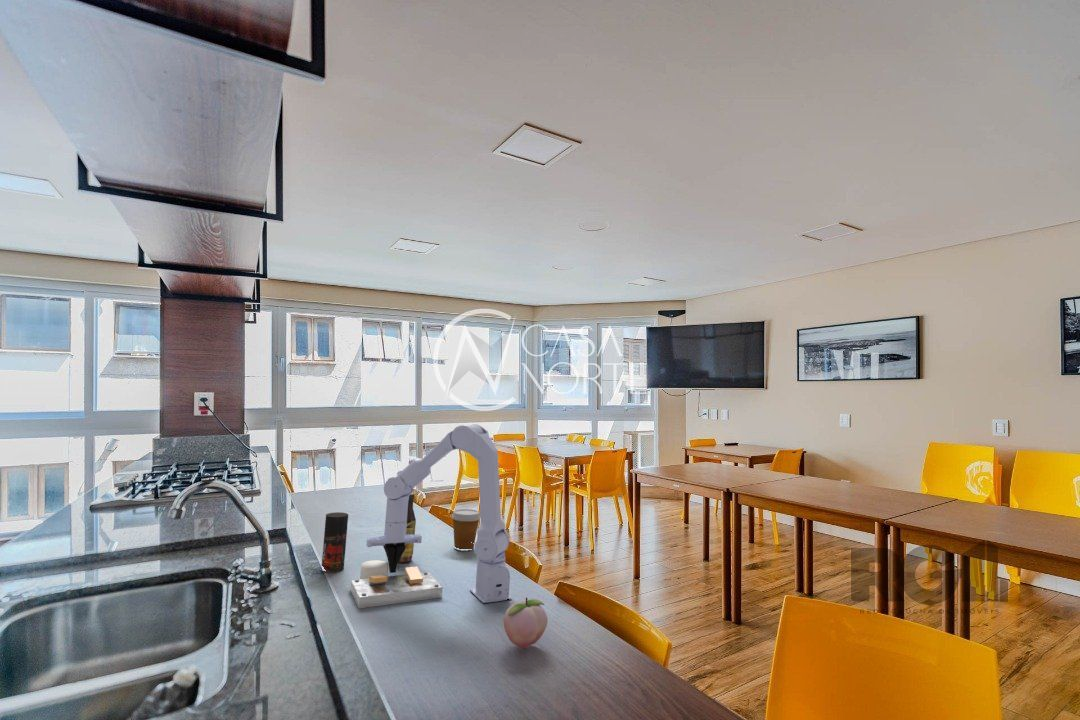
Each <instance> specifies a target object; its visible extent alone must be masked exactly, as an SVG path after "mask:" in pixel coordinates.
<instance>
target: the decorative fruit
mask: <svg viewBox="0 0 1080 720" xmlns="http://www.w3.org/2000/svg"><path fill="white" fill-rule="evenodd" d="M542 606H545V603H544V602H542V601H541V600H540V599H534V598H532V599H531V598H530V599H529V600H528V597H525V600H520V601H516V602H514V603H513V604H511V605H510V606H509V607H508V608H507V609H506V611H505V613H504V616H503V629H504V632H505V635H506V637H507V638H508V640H509V641H510V642H511V643H512V644H513V645H515V646H517V647H520V648H522V649H526V648H528V647H531V646H532V645H535V644H536V643H537V642H538V641H539V640H540V638H541V637H542V636H543V634H544V632H546V629H547V626H548V615H547V612H546V610H545V609H544V608H543V607H542Z"/></svg>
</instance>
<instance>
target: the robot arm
mask: <svg viewBox="0 0 1080 720" xmlns="http://www.w3.org/2000/svg"><path fill="white" fill-rule="evenodd" d="M489 435H490V433H489V431H488V430H487V429H486V428H484V427H482V425H479V424H471V425H470V424H469V425H464V424H463V425H462V424H461V425H458V426H456V427H454V429H453V430H451V431H450V432H448V433H447V434H446V435H445V437H443V438H442V439H441V440H440V441H439V442H438V443H437V444H436V445H435V446H434V447H433V448H432V449H430V451H429V452H428V453H427V454H425V456H424V457H422V458H421V457H420V458H419V457H417V458H412V459H410V460H409V461H408V465H407V466H406V467H404V468H403V469H402V470H399V471H398V472H396V474H397V475H396V476H392V477H389V478H388V479H387V480H386V482H384V486H383V493H384V495H385V497H386V508H385V509H386V511H385V521H384V522H385V524H384V535H380V536H375V537H368V538H366V547H367V548H372V547H378V546H379V547H380V546H382V547H383V549H384V551H385V555H386V559H387V563H388V572H389V573H390V574H391V573H392V574H394V573H396V571H397V568H398V566H399V565H398V564H399V560H400V558H401V556H402V554H403V552H404V551H405V548H406V546H405V544H407V543H414V544H421V543H422V540H423V539H422V538H423V537H422V536H423V535H421V534H415V535H406V525H407V512H408V501H409V496H410V494H411V493H413V491H414V488H415V487H417V486H418V485H419V484H420V483H421V482H422V481H424V480H425V479H426V478H427V477H428V476H430V474H431V470H432V469H431V468H432V467H433V466H435V464H437V463H438V462H439V461H441V460H442V459H443V458H445V457H446V456H447V455H448V454H450V452H452V451H454V450H460V451H462V452H465V453H467V454H469V455H470V456H472V457H473V458H474V459H475V460H476V461H477V462H478V464H477V465H478V466H477V467H478V488H479V489H478V490H479V493H478V494H479V514H480V523H479V527H478V528H477V532H476V534H477V536H476V540H475V543H474V553H475V556H476V558H477V561H476V575H475V576H476V578H475V587H470V588H469V591H470V592H471V593H472V594H473V595H474V596H475V597H476V598H477V599H478V600H479V601H480V602H481V604H487V603H495V602H502V601H508V600H507V599H509V600H512V599H511V598H513V597H512V595H510V584H511V583H510V580H511V574H510V570H509V568H508V567H507V566H506V554H505V551H506V550H507V549H508V547H509V545H510V537H509V535H508V533H507V531H506V524H505V523H504V521H503V520H502V511H501V495H500V494H501V492H500V490H501V489H500V472H499V471H500V469H499V453H498V449H497V447H496V445H495V444H494V442H493V441H492V439H491V437H490V436H489Z"/></svg>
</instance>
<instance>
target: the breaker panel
mask: <svg viewBox="0 0 1080 720" xmlns="http://www.w3.org/2000/svg"><path fill="white" fill-rule="evenodd" d="M420 573H421V575H422V577H423V582H420V583H412V584H410V582H409V580H408V578H407V575H406V573H405V574H398V575H396V574H395V575H387V582H378V583H373V582H371V581H369V578H368V579H360V578H359V579H353V580H352V579H351V581H350V592H351V596H352V598H353V599H354V602H355V604H356V606H357V609H366V608H372V607H373V608H374V607H381V606H387V605H395V604H402V603H409V602H416V601H417V602H418V601H425V600H433V599H438V598H439V599H441V598H443V586H442V584H440V582H438V580H437V579H436V578H435V577H434V576H433V575H432V574H431V572H429V571H425V572H420Z"/></svg>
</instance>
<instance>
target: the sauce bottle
mask: <svg viewBox="0 0 1080 720" xmlns="http://www.w3.org/2000/svg"><path fill="white" fill-rule="evenodd" d="M414 499H415V493H414V492H412V493H411V494H410V496H409V501H408V512H407V525H406V535H416V534H415V533H416V526H417V525H416V523H417V519H416V516H415V511H414ZM405 546H406V548H405V551H404V552H403V554H402V556H401V558H400V560H399V562H398V564H399V563H400V564H401V563H409V562H411V561H412V559H413V555H414V547H415V543H407V544H405Z"/></svg>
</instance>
